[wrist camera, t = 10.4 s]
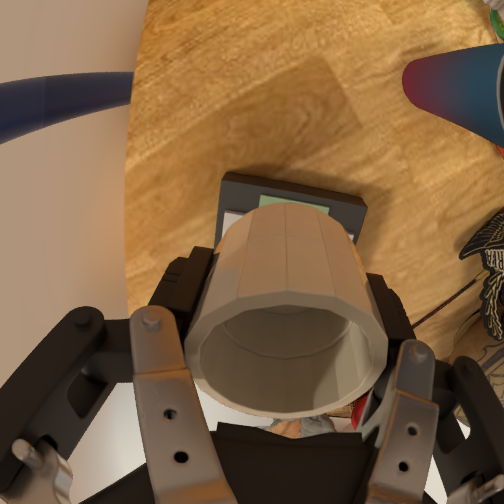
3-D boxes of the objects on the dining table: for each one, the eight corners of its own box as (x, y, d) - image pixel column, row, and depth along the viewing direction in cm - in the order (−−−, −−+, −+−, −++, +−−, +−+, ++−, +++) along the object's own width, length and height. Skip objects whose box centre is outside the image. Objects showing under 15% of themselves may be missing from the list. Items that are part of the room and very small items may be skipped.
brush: (516, 238, 27) (370, 350, 38) (520, 245, 27) (374, 356, 38) (514, 239, 28) (371, 349, 39) (519, 245, 28) (375, 355, 38)
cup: (388, 47, 20) (488, 27, 7) (451, 53, 19) (565, 56, 6) (396, 119, 24) (496, 164, 11) (457, 120, 23) (567, 167, 10)
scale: (212, 298, 35) (207, 315, 33) (225, 171, 28) (220, 181, 25) (321, 315, 36) (323, 333, 33) (362, 197, 28) (369, 210, 25)
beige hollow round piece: (213, 305, 14) (186, 405, 10) (223, 188, 11) (182, 272, 7) (332, 321, 14) (346, 422, 10) (370, 213, 11) (422, 306, 7)
